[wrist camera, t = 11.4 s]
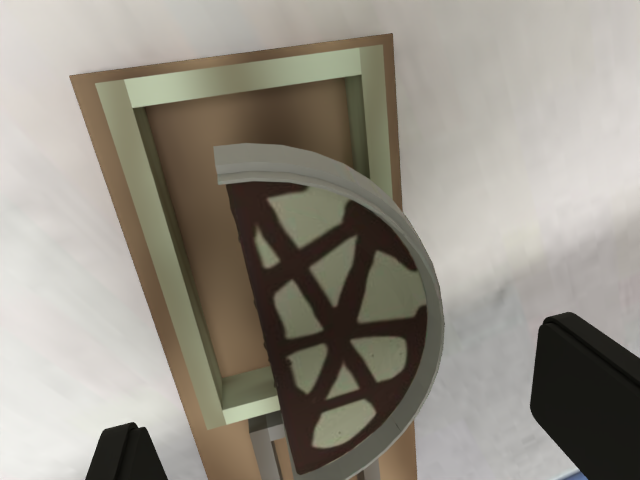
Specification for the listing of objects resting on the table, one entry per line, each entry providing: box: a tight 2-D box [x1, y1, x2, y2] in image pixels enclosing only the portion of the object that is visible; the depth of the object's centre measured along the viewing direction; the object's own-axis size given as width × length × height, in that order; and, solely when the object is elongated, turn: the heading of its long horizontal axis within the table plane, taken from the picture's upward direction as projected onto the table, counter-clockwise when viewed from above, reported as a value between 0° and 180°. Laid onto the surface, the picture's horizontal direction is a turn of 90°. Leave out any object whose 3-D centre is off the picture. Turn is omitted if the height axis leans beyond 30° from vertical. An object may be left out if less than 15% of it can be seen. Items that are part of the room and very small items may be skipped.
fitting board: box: [69, 33, 417, 480], centre depth 23 cm, size 14×30×4 cm, turn 8°
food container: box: [213, 143, 445, 480], centre depth 16 cm, size 12×6×10 cm, turn 9°
